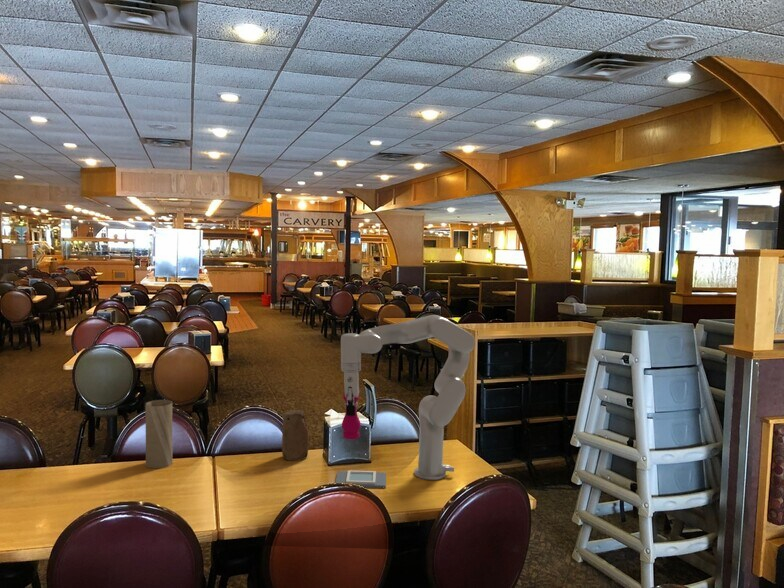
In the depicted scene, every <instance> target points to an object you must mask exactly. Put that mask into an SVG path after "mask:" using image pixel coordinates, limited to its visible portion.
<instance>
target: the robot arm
mask: <svg viewBox="0 0 784 588" xmlns="http://www.w3.org/2000/svg"><path fill="white" fill-rule="evenodd" d="M431 338H434V339H436V340H438V341H440V342H441V343H443V344H444V345H445V346H447V347H448V356H447V359H446V361H445V363H444V365H443V367H442V369H441V371H440V372H439V373H438V375H437V377H436V379H435V381H434V389H435V392H437V393H438V396H437V395H432V394H431V395H426V396H424V397H422V399H421V401H420V402H419V405H418V418H419V419H418V420H419V436H418V438H419V439H418V440H419V441H418V461H417V462H418V464H417V465H418V467H415V469H414V472H413V473H414V475H415V477H417V478H419V479H421V480H426V481H427V480H428V481H437V480H441V479H444V478H445V477H446V474H447V472H450V473H453V472H455V467H454V466H451V464H444V461H443V455H444V454H443V453H444V452H443V451H444V430H445V429H444V427H445V426H447V425H448V424H449V423H450V422H451V421H452V420H453V418H454V416H455V415H456V412H457V411H458V409H459V407H460V405H461V404H462V402H463V400H464V398H465V396H466V385H465V383H464V381H463V380H462V379H463V377H464V375H465V373H466V371H467V369H468V366H469V364H470V360H471V358H470V357H471V356H470V355H471V354H470V352H472V351H473V350H474V348H475V346H476V340H475V339H476V338H475V336H473V333H470V332H469V331H467V330H465V329H464V328H462V327H460V326H458V325H457V324H455V323H454V322H452V321H451V320H449V319H447V318H445V317H444V316H440V315H438V314H429V315H426V316H422V317H418V318H414V319H410V320H407V321H404V322H396V323H391V324H385V325H379V326H376V327H372V328H368V329H365V330H363V331H362V332H360V333H359V334H358V333H355V332H354V333H353V332H352V333H350V332H349V333H344V334H342V335H341V337H340V371H341V372H343V379H344V380H343V382H344V385H343V387H344V392H345V397H346V398H347V405H346V407H345V413H346V415H347V416H355V405H354V397H356V398H357V397H358V395H359V396H360V382H359V381H360V380H359V377H360V376H359V375H360V374H359V372H360V371H362V354H377V353H378V352H380V351H381V350H382V348H383V345H388V344H401V345H402V344H403V345H404V344H406V345H407V344H412V343H416V342H420V341H424V340H427V339H431ZM346 394H347V395H346ZM352 395H353V397H352ZM352 399H353V400H352Z"/></svg>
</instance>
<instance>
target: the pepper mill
mask: <svg viewBox="0 0 784 588" xmlns="http://www.w3.org/2000/svg"><path fill="white" fill-rule="evenodd" d="M342 395H343V396H342V398H343V401H344V407H345V408H346V405H347V398H346V397H345V391H344V392H343V394H342ZM346 395H347V394H346ZM352 397H353V395H352ZM359 399H360V394H359V395H358V397H357V398H356V397H354V405H355V416H347V415H346V412H345V414H344V417H343V419H342V422H341V428H342V430H343V432H342V437H343V438H344V439H346V440H357V439H359V438H360V436H361V434H360V431H359V430H361V427H362V424H361V420H360V418H359V415H358V413H357V412H358V411H357V407H358V404H359V403H358V400H359ZM352 400H353V399H352Z"/></svg>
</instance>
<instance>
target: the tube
mask: <svg viewBox="0 0 784 588" xmlns="http://www.w3.org/2000/svg"><path fill="white" fill-rule="evenodd" d="M172 464H173V401H172V400H168V399H154V400H151V401H146V402H145V467H146V468H149V469H157V470H158V469H163V468H167V467H170V466H172Z"/></svg>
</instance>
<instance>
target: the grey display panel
mask: <svg viewBox="0 0 784 588" xmlns="http://www.w3.org/2000/svg"><path fill="white" fill-rule="evenodd" d="M386 481H387V472H385V471H384V472H382V471H381V472H380V471H379V472H377V471H376V470H346V471H345V470H342V471H341V470H340V471H339V470H338V471H337V475H336V479H335V482H334V484H335V483H352V484H356V485H360V486H363V487H367V488H366V489H368V488H369V489H374V488H375V489H382V488H381V487H384V488H383V489H387V488H386V487H387V482H386ZM363 487H362V488H363Z"/></svg>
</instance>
